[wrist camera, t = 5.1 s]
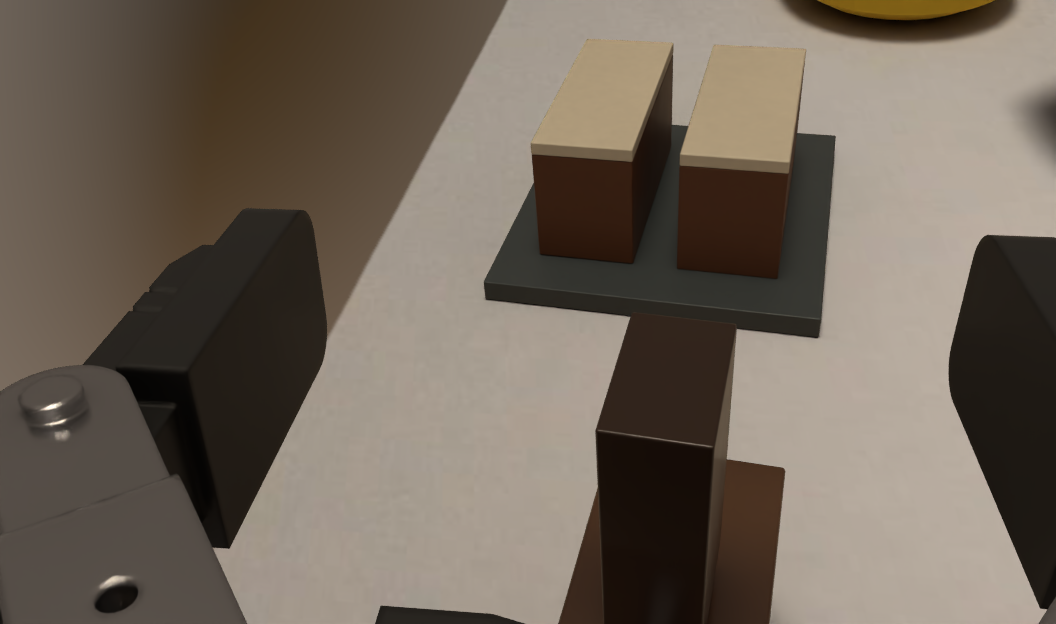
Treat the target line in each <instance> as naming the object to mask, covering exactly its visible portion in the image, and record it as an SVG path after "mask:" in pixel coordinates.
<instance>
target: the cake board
mask: <svg viewBox="0 0 1056 624" xmlns="http://www.w3.org/2000/svg"><path fill="white" fill-rule="evenodd" d="M687 129H688V126H680V125H672V132H671V148H670V152H669V155H668V158H667V161H666V164H665V167H664V170H663V173H662V176H661V179H660V182H659V185H658V188H657V191H656V194H655V197H654V201H653V204H652V207H651V210H650V213H649V216H648V219H647V222H646V225H645V228H644V231H643V234H642V237H641V240H640V243H639V247H638V250H637V253H636V256H635V259H634V262H633V263H632V264H630V263H620V262H611V261H601V260H591V259H581V258H572V257H562V256H552V255H542V254H540V252H539V239H538V226H537V214H536V201H535V188H534V184H533V185H532V187H531V189H530V191H529V193H528V195H527V197H526V199H525V201H524V203H523V205H522V207H521V209H520V211H519V213H518V215H517V217H516V219H515V221H514V223H513V225H512V227H511V229H510V231H509V233H508V235H507V237H506V239H505V241H504V243H503V245H502V247H501V249H500V251H499V253H498V255H497V257H496V259H495V261H494V263H493V265H492V267H491V269H490V270H489V272H488V274H487V276H486V278H485V280H484V289H485V297H486V299H493V300H502V301H511V302H519V303H528V304H537V305H545V306H554V307H562V308H571V309H580V310H588V311H597V312H606V313H614V314H623V315H631V314H632V313H633V312H636V313H645V314H654V315H662V316H671V317H680V318H688V319H697V320H706V321H714V322H723V323H732V324H736V326H737V328H744V329H752V330H761V331H770V332H778V333H787V334H795V335H804V336H813V337H818V336H819V331H820V324H821V314H822V302H823V289H824V277H825V264H826V252H827V239H828V226H829V214H830V201H831V189H832V176H833V164H834V151H835V138H836V136H831V135H816V134H801V133H797V138H796V147H795V156H794V163H793V171H792V178H791V185H790V192H789V200H788V207H787V214H786V221H785V229H784V236H783V243H782V250H781V257H780V265H779V272H778V278H777V279H773V278H763V277H754V276H744V275H734V274H724V273H715V272H705V271H695V270H685V269H677V239H678V201H679V166H680V152H681V149H682V146H683V142H684V139H685V136H686V133H687Z"/></svg>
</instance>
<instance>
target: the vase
mask: <svg viewBox="0 0 1056 624" xmlns="http://www.w3.org/2000/svg"><path fill="white" fill-rule="evenodd" d="M817 1H819V2H822V3H824V4H826V5H828V6H831V7H833V8H836V9H838V10H841V11H843V12H846V13H850V14H854V15H859V16H863V17H869V18H877V19H885V20H919V19H932V18H937V17H942V16H947V15H951V14H955V13H959V12H962V11H966V10H969V9H973V8H976V7H979V6H982V5H984V4H987V3H990V2H992V1H995V0H817Z"/></svg>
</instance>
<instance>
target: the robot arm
mask: <svg viewBox="0 0 1056 624" xmlns="http://www.w3.org/2000/svg"><path fill="white" fill-rule="evenodd" d="M149 288H150V290H149V292H145V293H144V294H143V295H142V296H141V298H140V299H139V300H138V301H137V302H136V303H135V305H134V306H133V311H129V312H128V313H127V314H126V315H125V316H124V317H123V319H122V320H121V321H120V322H119V323H118V324H117V326H116V327H115V328H114V329H113V330H112V331H111V332H110V334H109V335H108V336H107V337H106V338H105V339H104V340H103V342H102V343H101V344H100V345H99V346H98V347H97V349H96V350H95V351H94V352H93V353H92V354H91V356H90V357H89V358H88V359H87V360H86V361H85V363H84V364H83V365H77V366H66V367H60V368H54V369H50V370H46V371H43V372H40V373H37V374H33V375H31V376H28V377H26V378H24V379H21V380H19V381H17V382H15V383H14V384H11V385H10V386H8V387H6V388H5V389H3V390H2V391H0V624H247V622H246V620H245V618H244V616H243V614H242V611H241V609H240V607H239V605H238V603H237V600H236V598H235V596H234V594H233V592H232V589H231V587H230V585H229V583H228V581H227V578H226V576H225V574H224V572H223V570H222V568H221V565H220V563H219V561H218V559H217V557H216V554H215V552H214V550H213V548H212V547H214V548H228V549H229V548H230V546H231V544H232V542H233V540H234V538H235V536H236V535H237V533H238V531H239V529H240V527H241V525H242V523H243V521H244V519H245V517H246V515H247V513H248V511H249V509H250V507H251V505H252V503H253V501H254V499H255V497H256V495H257V493H258V491H259V489H260V487H261V485H262V483H263V481H264V479H265V477H266V475H267V473H268V471H269V469H270V467H271V465H272V463H273V461H274V459H275V457H276V455H277V453H278V451H279V449H280V447H281V445H282V443H283V441H284V439H285V437H286V435H287V433H288V431H289V429H290V427H291V425H292V423H293V421H294V419H295V417H296V415H297V413H298V411H299V409H300V407H301V405H302V403H303V401H304V399H305V397H306V395H307V393H308V391H309V389H310V387H311V385H312V383H313V381H314V380H315V378H316V376H317V374H318V372H319V370H320V367H321V365H322V362H323V359H324V355H325V349H326V341H327V320H326V312H325V305H324V298H323V291H322V284H321V277H320V270H319V263H318V257H317V249H316V243H315V235H314V229H313V225H312V222H311V219H310V217H309V215H308V213H307V212H306V211H304V210H282V209H279V210H278V209H252V208H250V209H249V208H247V209H244V210H242V211H241V212H240V214H239V215H238V216H237V217H236V218H235V219H234V221H233V222H232V223H231V224H230V226H229V227H228V228H227V229H226V231H225V232H224V233H223V234H222V236H221V237H220V238H219V239H218V240H217V242H216V243H215V244H214V245H202V246H200V247H198V248H197V249H195V250H193V251H191V252H190V253H188V254H186V255H185V256H183V257H181V258H179V259H178V260H176V261H174V262H173V263H171V264H169V265H168V266H167V267H166V269H165V270H164V271H163V272H162V273H161V274H160V276H159V277H158V278H157V279H156V280H155V281H154V283H153V284H152V285H151V286H150V287H149ZM949 387H950V393H951V397H952V400H953V403H954V405H955V408H956V410H957V412H958V415H959V417H960V420H961V422H962V424H963V427H964V429H965V431H966V434H967V436H968V438H969V441H970V443H971V446H972V448H973V450H974V453H975V455H976V457H977V460H978V462H979V465H980V467H981V469H982V472H983V474H984V476H985V479H986V481H987V484H988V486H989V488H990V491H991V493H992V495H993V498H994V500H995V502H996V505H997V507H998V510H999V512H1000V514H1001V517H1002V519H1003V521H1004V524H1005V526H1006V529H1007V531H1008V533H1009V536H1010V538H1011V540H1012V543H1013V545H1014V547H1015V550H1016V552H1017V555H1018V557H1019V559H1020V562H1021V564H1022V566H1023V569H1024V571H1025V574H1026V576H1027V578H1028V581H1029V583H1030V585H1031V588H1032V590H1033V592H1034V595H1035V597H1036V600H1037V602H1038V604H1039V607H1040V609H1048V610H1047V611H1046V613H1045V614H1044V616H1043V617H1042V619H1041V621H1040V622H1039V624H1056V238H1054V237H1029V236H999V235H987V236H984V237H983V238H982V239H981V241H980V242H979V244H978V246H977V248H976V251H975V254H974V257H973V261H972V265H971V269H970V273H969V277H968V281H967V285H966V289H965V293H964V297H963V301H962V305H961V309H960V313H959V317H958V321H957V325H956V330H955V334H954V338H953V342H952V346H951V351H950V357H949ZM375 624H524V623H521V622H517V621H514V620H511V619H507V618H504V617H501V616H497V615H494V614H484V613H471V612H458V611H444V610H431V609H418V608H404V607H391V606H380V610H379V613H378V616H377V620H376V623H375Z"/></svg>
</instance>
